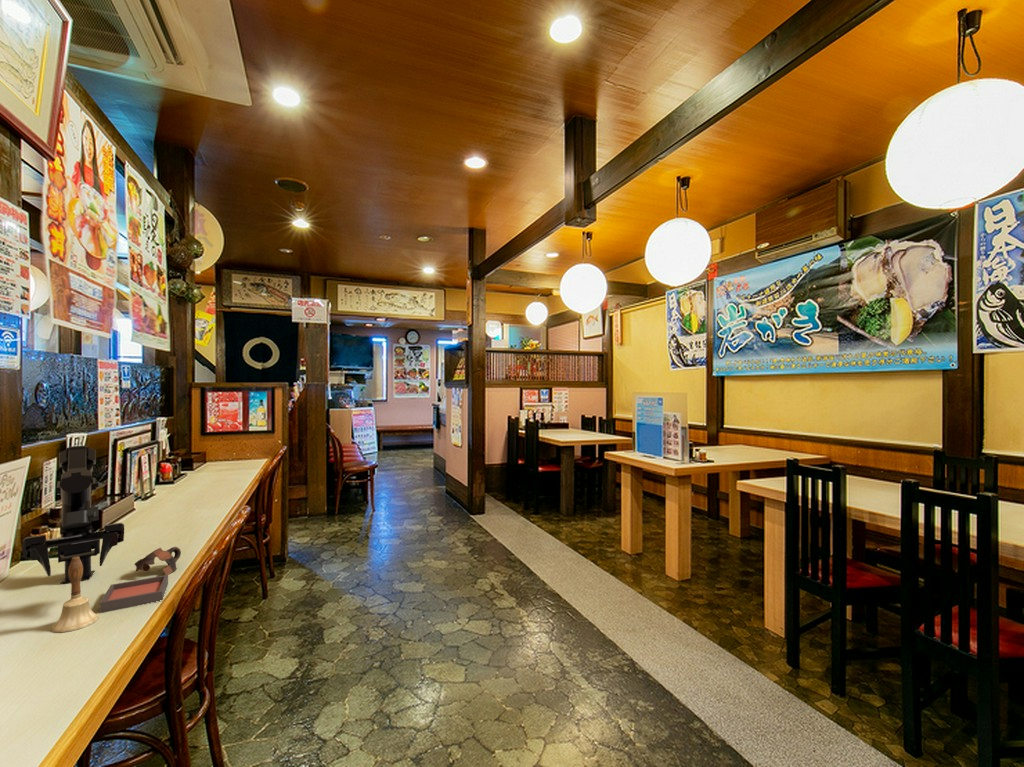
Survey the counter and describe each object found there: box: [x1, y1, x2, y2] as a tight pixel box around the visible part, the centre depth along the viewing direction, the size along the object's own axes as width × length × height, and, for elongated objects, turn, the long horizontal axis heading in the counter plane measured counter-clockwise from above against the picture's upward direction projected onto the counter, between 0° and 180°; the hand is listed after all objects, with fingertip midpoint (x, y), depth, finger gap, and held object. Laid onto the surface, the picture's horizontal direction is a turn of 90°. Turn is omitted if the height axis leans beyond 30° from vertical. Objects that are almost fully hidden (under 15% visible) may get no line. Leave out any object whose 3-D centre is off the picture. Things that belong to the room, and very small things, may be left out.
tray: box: [99, 574, 169, 614], centre depth 125 cm, size 13×13×2 cm
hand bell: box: [50, 556, 100, 633], centre depth 112 cm, size 8×8×16 cm
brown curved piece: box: [134, 546, 182, 576], centre depth 143 cm, size 12×10×8 cm
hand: (75, 570), depth 114 cm, fingers open, 9 cm apart
